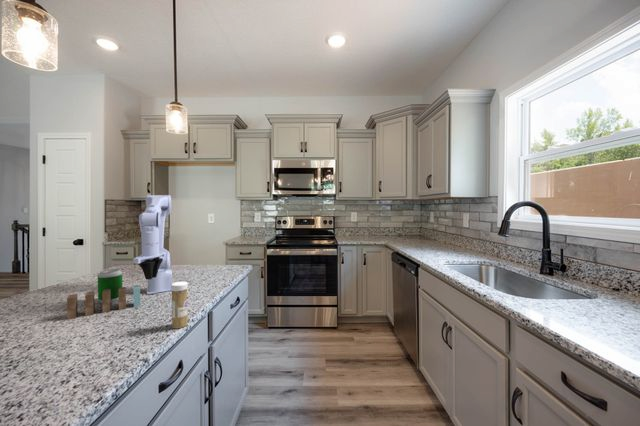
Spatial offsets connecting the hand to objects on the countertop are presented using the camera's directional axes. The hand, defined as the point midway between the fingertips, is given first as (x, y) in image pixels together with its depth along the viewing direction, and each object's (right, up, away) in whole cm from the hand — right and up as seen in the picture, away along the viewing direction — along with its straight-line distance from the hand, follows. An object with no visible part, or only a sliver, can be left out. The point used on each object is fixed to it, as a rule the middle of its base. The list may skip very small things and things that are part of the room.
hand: (151, 278), depth 101 cm
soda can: (-17, -10, +2) cm, 20 cm away
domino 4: (-7, -10, -5) cm, 13 cm away
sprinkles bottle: (+22, -10, -20) cm, 31 cm away
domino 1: (-18, -10, -13) cm, 24 cm away
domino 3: (-11, -10, -8) cm, 16 cm away
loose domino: (-4, -10, -2) cm, 10 cm away
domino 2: (-15, -10, -10) cm, 20 cm away
